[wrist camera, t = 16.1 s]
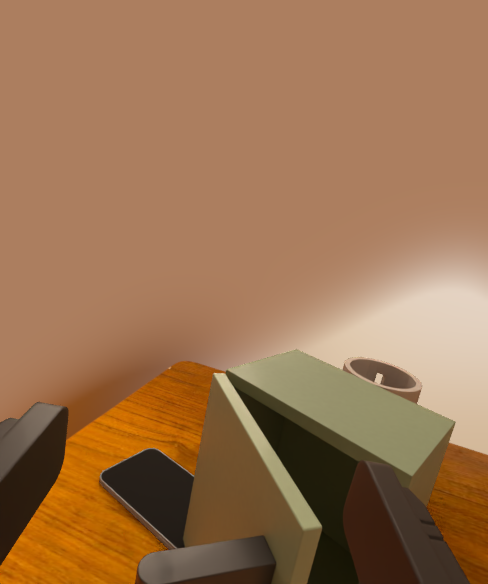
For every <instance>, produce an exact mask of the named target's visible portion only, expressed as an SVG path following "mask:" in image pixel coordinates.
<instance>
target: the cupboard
mask: <svg viewBox="0 0 488 584" xmlns="http://www.w3.org/2000/svg"><path fill="white" fill-rule="evenodd" d="M226 376H227V378H228V379H229V381H230V382H231V384H232V385H233V387H234V389H235V390H236V392H237V393H238V395H239V396H240V398H241V400H242V401H243V403H244V404H245V406H246V407H247V409H248V411H249V412H250V414H251V415H252V417H253V418H254V420H255V422H256V423H257V425H258V426H259V428H260V429H261V431H262V433H263V434H264V436H265V437H266V439H267V440H268V442H269V444H270V445H271V447H272V448H273V450H274V451H275V453H276V455H277V456H278V458H279V459H280V461H281V462H282V464H283V466H284V467H285V469H286V470H287V472H288V474H289V475H290V477H291V478H292V480H293V481H294V483H295V485H296V486H297V488H298V489H299V491H300V492H301V494H302V496H303V497H304V499H305V500H306V502H307V503H308V505H309V507H310V508H311V510H312V511H313V513H314V514H315V516H316V518H317V519H318V521H319V522H320V524H321V525H322V531H321V535H320V538H319V542H318V545H317V549H316V553H315V556H314V560H313V563H312V567H311V571H310V574H309V578H308V582H307V584H360V583H359V580H358V576H357V573H356V569H355V566H354V563H353V559H352V556H351V552H350V549H349V546H348V542H347V539H346V535H345V532H344V527H343V510H344V505H345V502H346V498H347V495H348V492H349V489H350V486H351V483H352V480H353V477H354V474H355V470H356V467H357V465H358V463H359V462H360V461H361V460H365V461H370V462H376V463H382V464H387V465H390V466H391V467H392V469H393V471H394V473H395V474H396V476H397V478H398V480H399V482H400V484H401V486H402V487H405V488H409V489H410V490H411V491H412V492H413V493H414V494H415V495H416V497H417V498H418V499H419V500H420V501H421V502H422V503H423V504H424V505H425V506H426V507H427V504H428V501H429V498H430V495H431V492H432V490H433V487H434V484H435V481H436V478H437V475H438V472H439V469H440V466H441V463H442V460H443V458H444V455H445V452H446V449H447V446H448V443H449V440H450V437H451V434H452V431H453V428H454V425H455V421H453V420H450V419H448V418H446V417H444V416H442V415H439V414H437V413H435V412H433V411H431V410H429V409H426V408H424V407H422V406H420V405H418V404H415V403H413V402H411V401H409V400H407V399H404V398H402V397H400V396H398V395H396V394H393V393H391V392H389V391H387V390H385V389H383V388H380V387H378V386H376V385H374V384H372V383H369V382H367V381H365V380H363V379H361V378H358V377H356V376H354V375H352V374H350V373H347V372H345V371H343V370H341V369H339V368H336V367H334V366H332V365H330V364H327V363H326V362H323V361H321V360H319V359H317V358H315V357H312V356H310V355H308V354H306V353H304V352H301V351H299V350H293V351H289V352H286V353H282V354H279V355H275V356H272V357H268V358H265V359H261V360H258V361H254V362H251V363H247V364H244V365H240V366H237V367H234V368H230V369H227V370H226Z"/></svg>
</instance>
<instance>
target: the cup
mask: <svg viewBox="0 0 488 584" xmlns="http://www.w3.org/2000/svg"><path fill="white" fill-rule="evenodd" d="M343 371H345V372H347V373H350V374H352V375H354V376H356V377H358V378H361V379H363V380H365V381H367V382H369V383H372V384H374V385H376V386H378V387H380V388H383V389H385V390H387V391H389V392H391V393H393V394H396V395H398V396H400V397H402V398H404V399H407V400H409V401H411V402H413V403H415V404H417V402H418V398H419V395H420V392H421V389H422V384H421V382H420V381H419V380H418V379H417V378H416V377H415V376H413V375H412V374H410V373H409V372H407V371H405V370H403V369H401V368H399V367H397V366H395V365H392V364H389V363H386V362H383V361H379V360H375V359H370V358H363V357H354V358H349V359H347V360H345V363H344V367H343ZM377 373H380V374H383V377H382V381H381V384H378V383H375V382H374V381H375V378H376V374H377Z"/></svg>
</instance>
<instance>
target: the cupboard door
mask: <svg viewBox="0 0 488 584" xmlns="http://www.w3.org/2000/svg"><path fill="white" fill-rule="evenodd" d="M321 531H322V525H321V524H320V522H319V521H318V519H317V518H316V516H315V514H314V513H313V511H312V510H311V508H310V507H309V505H308V503H307V502H306V500H305V499H304V497H303V496H302V494H301V492H300V491H299V489H298V488H297V486H296V485H295V483H294V481H293V480H292V478H291V477H290V475H289V474H288V472H287V470H286V469H285V467H284V466H283V464H282V462H281V461H280V459H279V458H278V456H277V455H276V453H275V451H274V450H273V448H272V447H271V445H270V444H269V442H268V440H267V439H266V437H265V436H264V434H263V433H262V431H261V429H260V428H259V426H258V425H257V423H256V422H255V420H254V418H253V417H252V415H251V414H250V412H249V411H248V409H247V407H246V406H245V404H244V403H243V401H242V400H241V398H240V396H239V395H238V393H237V392H236V390H235V389H234V387H233V385H232V384H231V382H230V381H229V379H228V378H227V376H226V374H224V373H214V374H213V377H212V383H211V388H210V394H209V399H208V405H207V410H206V416H205V421H204V427H203V432H202V438H201V443H200V449H199V454H198V459H197V465H196V470H195V476H194V481H193V487H192V492H191V498H190V503H189V509H188V514H187V520H186V525H185V531H184V536H183V541H184V545H185V548H178V549H172V550H166V551H159V552H153V553H150V554H148V555H146V556H145V557H143V558H142V560H141V561H140V563H139V565H138V568H137V575H136V581H135V584H307V582H308V578H309V574H310V571H311V567H312V563H313V560H314V556H315V553H316V549H317V545H318V542H319V538H320V535H321Z"/></svg>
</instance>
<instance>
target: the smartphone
mask: <svg viewBox="0 0 488 584" xmlns="http://www.w3.org/2000/svg"><path fill="white" fill-rule="evenodd" d="M193 481H194V475H192V474H191V473H190V472H188V471H187V470H185V469H184V468H183V467H181V466H180V465H179V464H177V463H176V462H175V461H173V460H172V459H171V458H169V457H168V456H166V455H165V454H164V453H162V452H161V451H160V450H158V449H155V448H148V449H145V450H143V451H141V452H139V453H137V454H135V455H133V456H131V457H129V458H127V459H125V460H123V461H121V462H119V463H117V464H115V465H113V466H111V467H110V468H108V469H106V470H104V471H103V472H102V473H101V474H100V484H101V485H102V486H103V487H104V488H105V489H106V490H107V491H108V492H109V493H110V494H111V495H112V496H113V497H115V498H116V499H117V500H118V501H119V502H120V503H121V504H122V505H123V506H124V507H125V508H126V509H127V510H128V511H129V512H130V513H132V514H133V515H134V516H135V517H136V518H137V519H138V520H139V521H140V522H141V523H142V524H143V525H144V526H145V527H146V528H147V529H148V530H150V531H151V532H152V533H153V534H154V535H155V536H156V537H157V538H158V539H159V540H160V541H161V542H162V543H163V544H164V545H165V546H166V547H167V548H168V549H169V550H172V549H178V548H185V545H184V541H183V536H184V531H185V525H186V520H187V514H188V509H189V503H190V498H191V492H192V487H193Z"/></svg>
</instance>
